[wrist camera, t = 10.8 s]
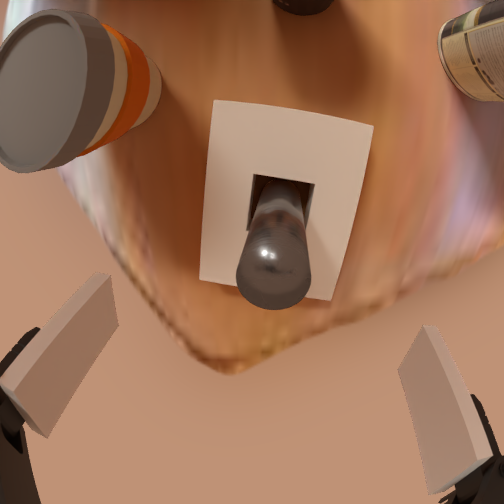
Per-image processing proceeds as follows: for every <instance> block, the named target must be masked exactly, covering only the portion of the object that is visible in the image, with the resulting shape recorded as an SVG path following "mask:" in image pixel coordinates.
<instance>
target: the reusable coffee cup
mask: <svg viewBox="0 0 504 504" xmlns="http://www.w3.org/2000/svg"><path fill="white" fill-rule="evenodd" d="M161 89H162V81H161V75H160V72H159V70H158V68H157V66H156V64H155V63H154V62H153V61H152V60H151V59H150V58H148V57H147V56H145V55H144V53H143V51H142V50H141V49H140V48H139V47H138V46H137V45H136V44H135V43H134V42H132V41H131V40H130V39H128V38H127V37H125V36H124V35H122V34H121V33H119V32H118V31H116V30H115V29H113V28H111V27H110V26H108V25H106V24H102V23H100V22H99V21H98V20H97V19H95V18H93V17H91V16H90V15H88V14H83V13H79V12H72V11H65V10H56V9H50V10H43V11H40V12H38V13H35V14H33V15H31V16H29V17H28V18H26V19H25V20H24V21H22V22H21V23H20V24H19V25H18V26H17V27H16V28H15V29H14V30H12V32H11V33H10V34H9V35H8V37H7V38H6V39H5V40H4V42H3V43H2V45H1V47H0V162H1V163H2V164H3V165H4V166H6V167H7V168H8V169H9V170H12V171H15V172H17V173H30V172H36V171H41V170H45V169H51V168H55V167H59V166H63V165H64V164H66V163H68V162H70V161H72V160H73V159H75V158H76V157H79V156H83V155H86V154H88V153H90V152H92V151H94V150H96V149H98V148H100V147H102V146H104V145H106V144H108V143H110V142H112V141H114V140H116V139H118V138H119V137H121V136H122V135H124V134H125V133H126V132H127V131H128V130H129V129H131V128H134V127H136V126H138V125H140V124H141V123H143V122H144V121H145V120H146V119H147V118H148V117H149V116H150V115H151V114H152V113H153V111H154V110H155V108H156V106H157V104H158V102H159V99H160V95H161Z"/></svg>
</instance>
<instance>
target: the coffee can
mask: <svg viewBox="0 0 504 504" xmlns="http://www.w3.org/2000/svg"><path fill="white" fill-rule="evenodd" d="M438 51H439V56H440V59H441V62H442V65H443V67H444V69H445V71H446V73H447V75H448V76H449V78H450V79H451V80H452V82H453V83H454V84H455V86H456V87H457V88H458V89H459V90H460V91H462V92H463V93H464V94H466V95H467V96H469V97H470V98H472V99H475V100H478V101H483V102H486V101H501V102H504V0H496V1H493V2H491V3H488V4H486V5H483V6H481V7H479V8H476V9H474V10H472V11H470V12H467V13H465V14H463V15H461V16H459V17H456V18H453V19H450V20H448V21H447V22H445V23H444V24H443V26H442V27H441V29H440V32H439V35H438Z"/></svg>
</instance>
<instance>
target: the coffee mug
mask: <svg viewBox="0 0 504 504" xmlns="http://www.w3.org/2000/svg"><path fill="white" fill-rule="evenodd" d="M273 1H274V3H275V4H276V5H277V6H279V7H280V8H281V9H283V10H284V11H287V12H289V13H292V14H296V15H303V16H305V15H314V14H317V13H320V12H322V11H324V10H325V9H327V8H328V7H329V6H330V4H331V3H332V2H333V1H334V0H273Z"/></svg>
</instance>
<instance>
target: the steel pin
mask: <svg viewBox="0 0 504 504" xmlns="http://www.w3.org/2000/svg"><path fill="white" fill-rule="evenodd" d="M236 283H237V286H238V289H239V291H240V292H241V294H242V295H243V296H244V297H245V298H246V299H247V300H248V301H249V302H250V303H252V304H254V305H256V306H258V307H260V308H264V309H269V310H280V309H285V308H289V307H291V306H293V305H295V304H297V303H298V302H299V301H301V300H302V299H303V298H304V297H305V295H306V294H307V292H308V290H309V288H310V285H311V269H310V262H309V254H308V246H307V239H306V232H305V225H304V218H303V212H302V205H301V199H300V193H299V190H298V188H297V187H296V186H295V185H294V184H293V183H292V182H290V181H288V180H285V179H275V180H272V181H270V182H269V183H267V184H266V185H265V186H264V188H263V190H262V192H261V195H260V199H259V202H258V205H257V208H256V211H255V214H254V217H253V220H252V223H251V226H250V229H249V232H248V235H247V239H246V242H245V245H244V248H243V251H242V254H241V257H240V260H239V263H238V267H237V270H236Z"/></svg>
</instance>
